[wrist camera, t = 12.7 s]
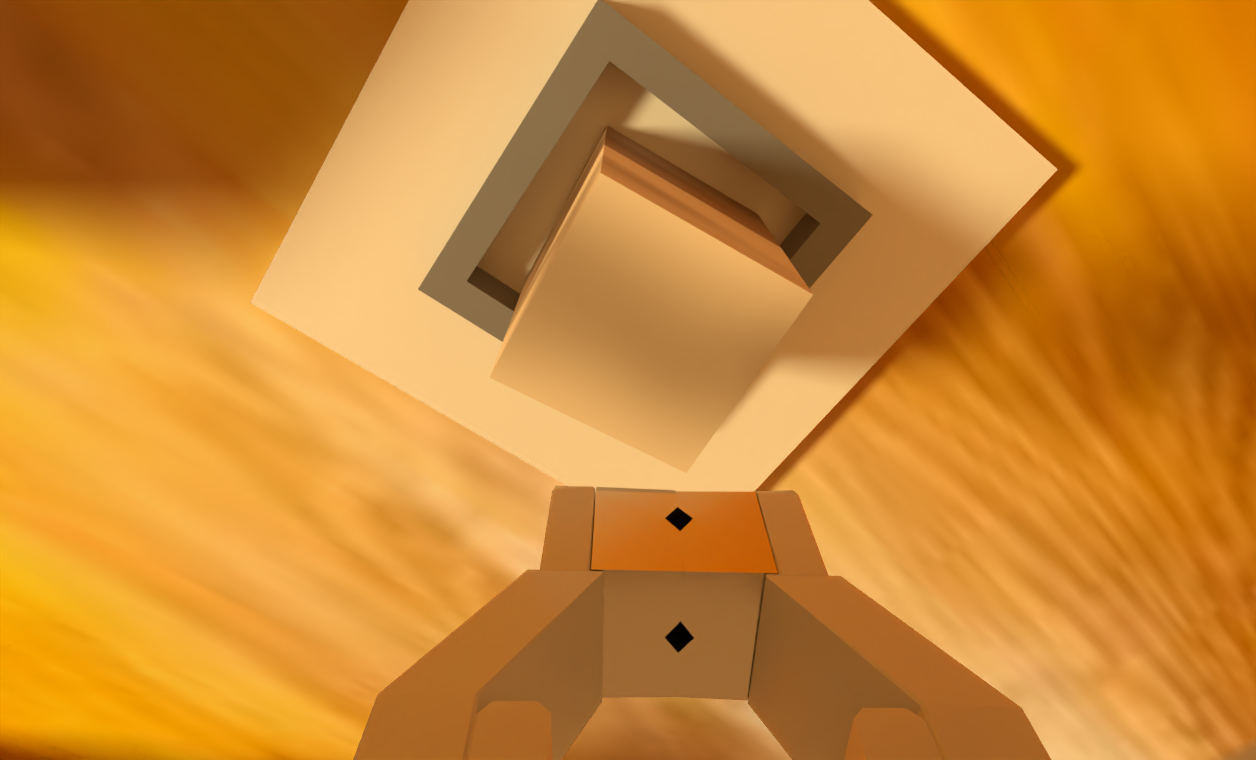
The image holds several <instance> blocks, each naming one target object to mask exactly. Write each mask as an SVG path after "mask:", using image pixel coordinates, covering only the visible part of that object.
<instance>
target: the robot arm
mask: <svg viewBox="0 0 1256 760" xmlns="http://www.w3.org/2000/svg"><path fill="white" fill-rule="evenodd" d="M602 697H690V698H712V699H733V700H748V704H749V705H750V707H751V708H752V709H753V711H754V712H755V713H756V714H757V716H758V717H759V718H760V719H761V721H762V722H763V723H764V724H765V726H766V727H767V728H768V729H769V731H770V732H771V733H772V734H773V736H774V737H775V738H776V739H777V741H778V742H779V743H780V744H781V746H782V747H783V748H784V750H785V751H786V752H787V753H788V755H789V756H790V757H791V758H792V760H1051V758H1050V757H1049V755H1048V753H1047V751H1046V750H1045V748H1044V746H1043V744H1042V743H1041V741H1040V739H1039V737H1038V736H1037V734H1036V732H1035V730H1034V729H1033V727H1032V725H1031V723H1030V722H1029V720H1028V718H1027V716H1026V715H1025V713H1024V711H1023V709H1022V708H1021V707H1020V706H1018V705H1017V704H1015V703H1014V702H1013V701H1011V700H1010V699H1009V698H1007V697H1006V696H1004V695H1003V694H1002V693H1000V692H999V691H998V690H996V689H995V688H994V687H992V686H991V685H989V684H988V683H987V682H985V681H984V680H983V679H981V678H980V677H978V676H977V675H976V674H974V673H973V672H972V671H970V670H969V669H967V668H966V667H965V666H963V665H962V664H961V663H959V662H958V661H956V660H955V659H954V658H952V657H951V656H950V655H948V654H947V653H945V652H944V651H943V650H941V649H940V648H939V647H937V646H936V645H934V644H933V643H932V642H930V641H929V640H928V639H926V638H925V637H923V636H922V635H921V634H919V633H918V632H917V631H915V630H914V629H912V628H911V627H910V626H908V625H907V624H906V623H904V622H903V621H902V620H900V619H899V618H897V617H896V616H895V615H893V614H892V613H891V612H889V611H888V610H886V609H885V608H884V607H882V606H881V605H880V604H878V603H877V602H875V601H874V600H873V599H871V598H870V597H869V596H867V595H866V594H864V593H863V592H862V591H860V590H859V589H858V588H856V587H855V586H853V585H852V584H851V583H849V582H848V581H847V580H845V579H844V578H842V577H841V576H828V573H827V571H826V568H825V565H824V562H823V560H822V557H821V554H820V552H819V549H818V546H817V544H816V541H815V538H814V536H813V533H812V530H811V527H810V525H809V522H808V519H807V517H806V514H805V511H804V509H803V506H802V503H801V500H800V498H799V495H798V494H797V493H796V492H794V491H754V492H720V491H675V490H658V489H635V488H611V487H596V492H595V488H594V487H592V486H555V488H554V490H553V491H552V496H551V503H550V509H549V515H548V522H547V528H546V534H545V540H544V547H543V553H542V559H541V566H540V570H527V571H526V572H524V573H523V574H522V575H521V576H520V577H518V578H517V579H516V580H515V581H514V582H512V583H511V584H510V585H509V586H508V587H506V588H505V589H504V590H503V591H502V592H500V593H499V594H498V595H497V596H496V597H494V598H493V599H492V600H491V601H490V602H488V603H487V604H486V605H485V606H484V607H482V608H481V609H480V610H479V611H478V612H476V613H475V614H474V615H473V616H472V617H470V618H469V619H468V620H467V621H466V622H464V623H463V624H462V625H461V626H460V627H458V628H457V629H456V630H455V631H454V632H452V633H451V634H450V635H449V636H448V637H446V638H445V639H444V640H443V641H442V642H440V643H439V644H438V645H437V646H435V647H434V648H433V649H432V650H431V651H429V652H428V653H427V654H426V655H425V656H423V657H422V658H421V659H420V660H419V661H417V662H416V663H415V664H414V665H413V666H411V667H410V668H409V669H408V670H407V671H405V672H404V673H403V674H402V675H401V676H399V677H398V678H397V679H396V680H395V681H393V682H392V683H391V684H390V685H389V686H387V687H386V688H385V689H384V690H383V691H381V692H380V693H379V694H378V695H377V698H376V700H375V703H374V706H373V708H372V711H371V714H370V716H369V719H368V722H367V724H366V727H365V730H364V732H363V735H362V738H361V740H360V743H359V746H358V748H357V751H356V754H355V756H354V759H353V760H562V758H563V757H564V755H565V754H566V752H567V751H568V750H569V748H570V747H571V745H572V744H573V742H574V741H575V739H576V738H577V737H578V735H579V734H580V732H581V731H582V729H583V728H584V727H585V725H586V724H587V722H588V721H589V719H590V718H591V717H592V715H593V714H594V712H595V711H596V709H597V708H598V706H599V705H600V704H601V702H602Z"/></svg>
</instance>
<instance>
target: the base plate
mask: <svg viewBox="0 0 1256 760" xmlns="http://www.w3.org/2000/svg"><path fill="white" fill-rule="evenodd" d="M607 125H608V126H609V127H611V128H613V129H615V130H616V131H618V132H620V133H621V134H623V135H625V136H626V137H628V138H630V139H631V140H633V141H635V142H637V143H638V144H640V145H642V146H643V147H645V148H647V149H648V150H650V151H652V152H653V153H655V154H657V155H659V156H660V157H662V158H664V159H665V160H667V161H669V162H670V163H672V164H674V165H675V166H677V167H679V168H681V169H682V170H684V171H686V172H687V173H689V174H691V175H692V176H694V177H696V178H697V179H699V180H701V181H703V182H704V183H706V184H708V185H709V186H711V187H713V188H714V189H716V190H718V191H719V192H721V193H723V194H725V195H726V196H728V197H730V198H731V199H733V200H735V201H736V202H738V203H740V204H741V205H743V206H745V207H747V208H748V209H750V210H752V211H753V212H755V213H757V214H758V215H759V217H760V218H761V220H762V221H763V222H764V224H765V225H766V227H767V228H768V230H769V231H770V233H771V234H772V235H773V237H774V238H775V240H776V241H777V243H778V244H779V246H780V247H781V249H782V250H783V251H784V253H785V254H786V256H787V257H788V259H789V260H790V262H791V263H792V264H793V266H794V267H795V269H796V270H797V272H798V273H799V275H800V276H801V278H802V279H803V280H804V282H805V283H806V285H807V286H808V288H809V289H810V291H811V292H812V293H813V296H812V297H811V299H810V300H809V302H808V303H807V304H806V306H805V307H804V309H803V310H802V311H801V313H800V314H799V316H798V317H797V318H796V320H795V321H794V323H793V324H792V325H791V327H790V328H789V330H788V331H787V333H786V334H785V335H784V337H783V338H782V340H781V341H780V342H779V344H778V345H777V347H776V348H775V349H774V351H773V352H772V354H771V355H770V356H769V358H768V359H767V361H766V362H765V363H764V365H763V366H762V368H761V369H760V370H759V372H758V373H757V375H756V376H755V378H754V379H753V380H752V382H751V383H750V385H749V386H748V387H747V389H746V390H745V392H744V393H743V394H742V396H741V397H740V399H739V400H738V401H737V403H736V404H735V406H734V407H733V408H732V410H731V411H730V413H729V414H728V415H727V417H726V418H725V420H724V421H723V422H722V424H721V425H720V427H719V428H718V430H717V431H716V432H715V434H714V435H713V437H712V438H711V439H710V441H709V442H708V444H707V445H706V446H705V448H704V449H703V451H702V452H701V453H700V455H699V456H698V458H697V459H696V460H695V462H694V463H693V465H692V466H691V467H690V469H689V470H688V472H687V473H685V472H683V471H681V470H679V469H676V468H674V467H672V466H670V465H668V464H666V463H664V462H662V461H660V460H658V459H656V458H654V457H652V456H650V455H648V454H646V453H644V452H641V451H639V450H637V449H635V448H633V447H631V446H629V445H627V444H625V443H623V442H621V441H619V440H617V439H615V438H613V437H611V436H609V435H606V434H604V433H602V432H600V431H598V430H596V429H594V428H592V427H590V426H588V425H586V424H584V423H582V422H580V421H578V420H576V419H574V418H571V417H569V416H567V415H565V414H563V413H561V412H559V411H557V410H555V409H553V408H551V407H549V406H547V405H545V404H543V403H541V402H539V401H536V400H534V399H532V398H530V397H528V396H526V395H524V394H522V393H520V392H518V391H516V390H514V389H512V388H510V387H508V386H506V385H504V384H501V383H499V382H497V381H495V380H493V379H491V378H490V375H491V373H492V370H493V367H494V364H495V362H496V359H497V356H498V354H499V351H500V348H501V345H502V343H503V340H504V337H505V335H506V332H507V329H508V326H509V324H510V321H511V318H512V315H513V313H514V310H515V307H516V305H517V302H518V299H519V296H520V294H521V291H522V288H523V286H524V283H525V280H526V277H527V275H528V273H529V271H530V270H531V268H532V266H533V264H534V262H535V260H536V258H537V256H538V255H539V253H540V251H541V249H542V247H543V245H544V243H545V241H546V239H547V238H548V236H549V234H550V232H551V230H552V228H553V226H554V224H555V222H556V221H557V219H558V217H559V215H560V213H561V211H562V209H563V207H564V205H565V204H566V202H567V200H568V198H569V196H570V194H571V192H572V190H573V188H574V187H575V185H576V183H577V181H578V179H579V177H580V175H581V173H582V171H583V170H584V168H585V166H586V164H587V162H588V160H589V158H590V156H591V155H592V153H593V151H594V149H595V147H596V145H597V143H598V141H599V139H600V138H601V136H602V134H603V132H604V130H605V128H606V126H607ZM1057 170H1058V169H1057V168H1056V167H1054V166H1053V165H1052V164H1051V163H1050V162H1049V161H1048V160H1047V159H1045V158H1044V157H1043V156H1042V155H1041V154H1040V153H1039V152H1038V151H1037V150H1035V149H1034V148H1033V147H1032V146H1031V145H1030V144H1029V143H1028V142H1026V141H1025V140H1024V139H1023V138H1022V137H1021V136H1020V135H1019V134H1018V133H1016V132H1015V131H1014V130H1013V129H1012V128H1011V127H1010V126H1009V125H1007V124H1006V123H1005V122H1004V121H1003V120H1002V119H1001V118H1000V117H999V116H997V115H996V114H995V113H994V112H993V111H992V110H991V109H990V108H988V107H987V106H986V105H985V104H984V103H983V102H982V101H981V100H980V99H978V98H977V97H976V96H975V95H974V94H973V93H972V92H971V91H969V90H968V89H967V88H966V87H965V86H964V85H963V84H962V83H961V82H959V81H958V80H957V79H956V78H955V77H954V76H953V75H952V74H950V73H949V72H948V71H947V70H946V69H945V68H944V67H943V66H942V65H940V64H939V63H938V62H937V61H936V60H935V59H934V58H933V57H931V56H930V55H929V54H928V53H927V52H926V51H925V50H924V49H923V48H921V47H920V46H919V45H918V44H917V43H916V42H915V41H914V40H912V39H911V38H910V37H909V36H908V35H907V34H906V33H905V32H904V31H902V30H901V29H900V28H899V27H898V26H897V25H896V24H895V23H894V22H892V21H891V20H890V19H889V18H888V17H887V16H886V15H885V14H883V13H882V12H881V11H880V10H879V9H878V8H877V7H876V6H875V5H873V4H872V3H871V2H870V1H869V0H409V1H408V3H407V5H406V6H405V8H404V10H403V12H402V14H401V16H400V18H399V20H398V22H397V24H396V26H395V27H394V29H393V31H392V33H391V35H390V37H389V39H388V41H387V43H386V45H385V47H384V48H383V50H382V52H381V54H380V56H379V58H378V60H377V62H376V64H375V66H374V68H373V69H372V71H371V73H370V75H369V77H368V79H367V81H366V83H365V85H364V87H363V89H362V90H361V92H360V94H359V96H358V98H357V100H356V102H355V104H354V106H353V108H352V110H351V111H350V113H349V115H348V117H347V119H346V121H345V123H344V125H343V127H342V129H341V131H340V132H339V134H338V136H337V138H336V140H335V142H334V144H333V146H332V148H331V150H330V151H329V153H328V155H327V157H326V159H325V161H324V163H323V165H322V167H321V169H320V171H319V172H318V174H317V176H316V178H315V180H314V182H313V184H312V186H311V188H310V190H309V192H308V193H307V195H306V197H305V199H304V201H303V203H302V205H301V207H300V209H299V211H298V213H297V214H296V216H295V218H294V220H293V222H292V224H291V226H290V228H289V230H288V232H287V234H286V235H285V237H284V239H283V241H282V243H281V245H280V247H279V249H278V251H277V253H276V255H275V256H274V258H273V260H272V262H271V264H270V266H269V268H268V270H267V272H266V274H265V276H264V277H263V279H262V281H261V283H260V285H259V287H258V289H257V291H256V293H255V295H254V297H253V298H252V300H251V302H250V303H252V304H254V305H255V306H257V307H259V308H261V309H262V310H264V311H266V312H268V313H269V314H271V315H273V316H274V317H276V318H278V319H280V320H281V321H283V322H285V323H286V324H288V325H290V326H292V327H293V328H295V329H297V330H299V331H300V332H302V333H304V334H305V335H307V336H309V337H311V338H312V339H314V340H316V341H318V342H319V343H321V344H323V345H324V346H326V347H328V348H330V349H331V350H333V351H335V352H337V353H338V354H340V355H342V356H343V357H345V358H347V359H349V360H350V361H352V362H354V363H356V364H357V365H359V366H361V367H362V368H364V369H366V370H368V371H369V372H371V373H373V374H375V375H376V376H378V377H380V378H381V379H383V380H385V381H387V382H388V383H390V384H392V385H393V386H395V387H397V388H399V389H400V390H402V391H404V392H406V393H407V394H409V395H411V396H412V397H414V398H416V399H418V400H419V401H421V402H423V403H425V404H426V405H428V406H430V407H431V408H433V409H435V410H437V411H438V412H440V413H442V414H444V415H445V416H447V417H449V418H450V419H452V420H454V421H456V422H457V423H459V424H461V425H463V426H464V427H466V428H468V429H469V430H471V431H473V432H475V433H476V434H478V435H480V436H482V437H483V438H485V439H487V440H488V441H490V442H492V443H494V444H495V445H497V446H499V447H501V448H502V449H504V450H506V451H507V452H509V453H511V454H513V455H514V456H516V457H518V458H519V459H521V460H523V461H525V462H526V463H528V464H530V465H532V466H533V467H535V468H537V469H538V470H540V471H542V472H544V473H545V474H547V475H549V476H551V477H552V478H554V479H556V480H557V481H559V482H561V483H563V484H564V485H566V486H592V487H594V488H595V492H596V487H611V488H635V489H658V490H675V491H720V492H754V491H755V490H756V489H757V488H758V487H759V486H760V485H761V484H762V483H763V482H764V481H765V480H766V478H767V477H768V476H769V475H770V474H771V473H772V472H773V471H774V470H775V469H776V468H777V467H778V466H779V465H780V464H781V463H782V461H783V460H784V459H785V458H786V457H787V456H788V455H789V454H790V453H791V452H792V451H793V450H794V449H795V448H796V447H797V446H798V445H799V443H800V442H801V441H802V440H803V439H804V438H805V437H806V436H807V435H808V434H809V433H810V432H811V431H812V430H813V429H814V428H815V426H816V425H817V424H818V423H819V422H820V421H821V420H822V419H823V418H824V417H825V416H826V415H827V414H828V413H829V412H830V411H831V409H832V408H833V407H834V406H835V405H836V404H837V403H838V402H839V401H840V400H841V399H842V398H843V397H844V396H845V395H846V394H847V393H848V391H849V390H850V389H851V388H852V387H853V386H854V385H855V384H856V383H857V382H858V381H859V380H860V379H861V378H862V377H863V376H864V374H865V373H866V372H867V371H868V370H869V369H870V368H871V367H872V366H873V365H874V364H875V363H876V362H877V361H878V360H879V359H880V357H881V356H882V355H883V354H884V353H885V352H886V351H887V350H888V349H889V348H890V347H891V346H892V345H893V344H894V343H895V342H896V341H897V339H898V338H899V337H900V336H901V335H902V334H903V333H904V332H905V331H906V330H907V329H908V328H909V327H910V326H911V325H912V324H913V322H914V321H915V320H916V319H917V318H918V317H919V316H920V315H921V314H922V313H923V312H924V311H925V310H926V309H927V308H928V307H929V305H930V304H931V303H932V302H933V301H934V300H935V299H936V298H937V297H938V296H939V295H940V294H941V293H942V292H943V291H944V290H945V289H946V287H947V286H948V285H949V284H950V283H951V282H952V281H953V280H954V279H955V278H956V277H957V276H958V275H959V274H960V273H961V272H962V270H963V269H964V268H965V267H966V266H967V265H968V264H969V263H970V262H971V261H972V260H973V259H974V258H975V257H976V256H977V255H978V253H979V252H980V251H981V250H982V249H983V248H984V247H985V246H986V245H987V244H988V243H989V242H990V241H991V240H992V239H993V238H994V237H995V235H996V234H997V233H998V232H999V231H1000V230H1001V229H1002V228H1003V227H1004V226H1005V225H1006V224H1007V223H1008V222H1009V221H1010V220H1011V218H1012V217H1013V216H1014V215H1015V214H1016V213H1017V212H1018V211H1019V210H1020V209H1021V208H1022V207H1023V206H1024V205H1025V204H1026V203H1027V201H1028V200H1029V199H1030V198H1031V197H1032V196H1033V195H1034V194H1035V193H1036V192H1037V191H1038V190H1039V189H1040V188H1041V187H1042V186H1043V184H1044V183H1045V182H1046V181H1047V180H1048V179H1049V178H1050V177H1051V176H1052V175H1053V174H1054V173H1055V172H1056V171H1057Z"/></svg>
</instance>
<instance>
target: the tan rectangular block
mask: <svg viewBox="0 0 1256 760" xmlns="http://www.w3.org/2000/svg"><path fill="white" fill-rule="evenodd" d="M812 296H813V293H812V292H811V291H810V289H809V288H808V286H807V285H806V283H805V282H804V280H803V279H802V278H801V276H800V275H799V273H798V272H797V270H796V269H795V267H794V266H793V264H792V263H791V262H790V260H789V259H788V257H787V256H786V254H785V253H784V251H783V250H782V249H781V247H780V246H779V244H778V243H777V241H776V240H775V238H774V237H773V235H772V234H771V233H770V231H769V230H768V228H767V227H766V225H765V224H764V222H763V221H762V220H761V218H760V217H759V215H758V214H757V213H755V212H753V211H752V210H750V209H748V208H747V207H745V206H743V205H741V204H740V203H738V202H736V201H735V200H733V199H731V198H730V197H728V196H726V195H725V194H723V193H721V192H719V191H718V190H716V189H714V188H713V187H711V186H709V185H708V184H706V183H704V182H703V181H701V180H699V179H697V178H696V177H694V176H692V175H691V174H689V173H687V172H686V171H684V170H682V169H681V168H679V167H677V166H675V165H674V164H672V163H670V162H669V161H667V160H665V159H664V158H662V157H660V156H659V155H657V154H655V153H653V152H652V151H650V150H648V149H647V148H645V147H643V146H642V145H640V144H638V143H637V142H635V141H633V140H631V139H630V138H628V137H626V136H625V135H623V134H621V133H620V132H618V131H616V130H615V129H613V128H611V127H609V126H608V125H607V126H606V128H605V130H604V132H603V134H602V136H601V138H600V139H599V141H598V143H597V145H596V147H595V149H594V151H593V153H592V155H591V156H590V158H589V160H588V162H587V164H586V166H585V168H584V170H583V171H582V173H581V175H580V177H579V179H578V181H577V183H576V185H575V187H574V188H573V190H572V192H571V194H570V196H569V198H568V200H567V202H566V204H565V205H564V207H563V209H562V211H561V213H560V215H559V217H558V219H557V221H556V222H555V224H554V226H553V228H552V230H551V232H550V234H549V236H548V238H547V239H546V241H545V243H544V245H543V247H542V249H541V251H540V253H539V255H538V256H537V258H536V260H535V262H534V264H533V266H532V268H531V270H530V271H529V273H528V275H527V277H526V280H525V283H524V286H523V288H522V291H521V294H520V296H519V299H518V302H517V305H516V307H515V310H514V313H513V315H512V318H511V321H510V324H509V326H508V329H507V332H506V335H505V337H504V340H503V343H502V345H501V348H500V351H499V354H498V356H497V359H496V362H495V364H494V367H493V370H492V373H491V375H490V378H491V379H493V380H495V381H497V382H499V383H501V384H504V385H506V386H508V387H510V388H512V389H514V390H516V391H518V392H520V393H522V394H524V395H526V396H528V397H530V398H532V399H534V400H536V401H539V402H541V403H543V404H545V405H547V406H549V407H551V408H553V409H555V410H557V411H559V412H561V413H563V414H565V415H567V416H569V417H571V418H574V419H576V420H578V421H580V422H582V423H584V424H586V425H588V426H590V427H592V428H594V429H596V430H598V431H600V432H602V433H604V434H606V435H609V436H611V437H613V438H615V439H617V440H619V441H621V442H623V443H625V444H627V445H629V446H631V447H633V448H635V449H637V450H639V451H641V452H644V453H646V454H648V455H650V456H652V457H654V458H656V459H658V460H660V461H662V462H664V463H666V464H668V465H670V466H672V467H674V468H676V469H679V470H681V471H683V472H685V473H687V472H688V470H689V469H690V467H691V466H692V465H693V463H694V462H695V460H696V459H697V458H698V456H699V455H700V453H701V452H702V451H703V449H704V448H705V446H706V445H707V444H708V442H709V441H710V439H711V438H712V437H713V435H714V434H715V432H716V431H717V430H718V428H719V427H720V425H721V424H722V422H723V421H724V420H725V418H726V417H727V415H728V414H729V413H730V411H731V410H732V408H733V407H734V406H735V404H736V403H737V401H738V400H739V399H740V397H741V396H742V394H743V393H744V392H745V390H746V389H747V387H748V386H749V385H750V383H751V382H752V380H753V379H754V378H755V376H756V375H757V373H758V372H759V370H760V369H761V368H762V366H763V365H764V363H765V362H766V361H767V359H768V358H769V356H770V355H771V354H772V352H773V351H774V349H775V348H776V347H777V345H778V344H779V342H780V341H781V340H782V338H783V337H784V335H785V334H786V333H787V331H788V330H789V328H790V327H791V325H792V324H793V323H794V321H795V320H796V318H797V317H798V316H799V314H800V313H801V311H802V310H803V309H804V307H805V306H806V304H807V303H808V302H809V300H810V299H811V297H812Z"/></svg>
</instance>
